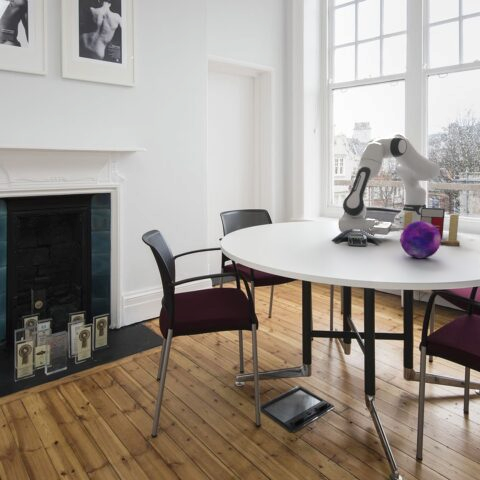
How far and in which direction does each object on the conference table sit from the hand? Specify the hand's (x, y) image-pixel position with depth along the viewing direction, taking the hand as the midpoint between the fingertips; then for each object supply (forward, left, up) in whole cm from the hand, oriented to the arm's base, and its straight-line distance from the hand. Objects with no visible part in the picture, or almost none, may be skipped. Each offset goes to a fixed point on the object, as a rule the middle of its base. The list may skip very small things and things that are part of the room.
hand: (400, 229), depth 216 cm
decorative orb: (+36, -18, -6) cm, 41 cm away
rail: (+9, +10, -6) cm, 15 cm away
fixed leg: (+16, +17, -4) cm, 24 cm away
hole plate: (+5, +19, -6) cm, 21 cm away
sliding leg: (+2, +3, -4) cm, 5 cm away
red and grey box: (-5, +24, -6) cm, 25 cm away
